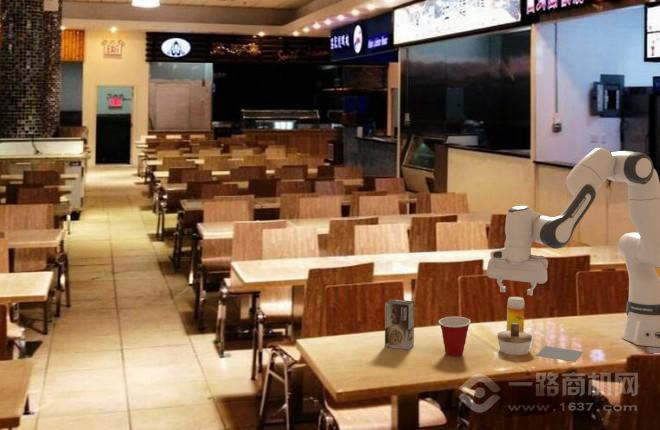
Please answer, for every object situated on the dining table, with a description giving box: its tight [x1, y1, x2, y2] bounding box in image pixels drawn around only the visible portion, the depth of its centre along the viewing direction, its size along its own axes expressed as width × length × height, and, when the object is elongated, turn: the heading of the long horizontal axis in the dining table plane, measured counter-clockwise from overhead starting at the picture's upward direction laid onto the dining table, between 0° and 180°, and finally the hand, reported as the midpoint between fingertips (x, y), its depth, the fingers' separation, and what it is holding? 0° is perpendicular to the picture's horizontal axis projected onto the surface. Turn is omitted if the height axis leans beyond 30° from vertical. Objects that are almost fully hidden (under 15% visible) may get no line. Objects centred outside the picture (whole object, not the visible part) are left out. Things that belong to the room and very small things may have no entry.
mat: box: [535, 345, 584, 363], centre depth 262 cm, size 13×13×1 cm
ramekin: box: [497, 337, 532, 356], centre depth 265 cm, size 11×11×5 cm
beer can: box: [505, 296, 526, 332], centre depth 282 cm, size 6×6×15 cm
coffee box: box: [384, 298, 415, 350], centre depth 270 cm, size 9×6×16 cm
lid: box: [497, 323, 533, 343], centre depth 264 cm, size 12×12×5 cm
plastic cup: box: [438, 316, 471, 357], centre depth 262 cm, size 11×11×12 cm
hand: (516, 293), depth 263 cm, fingers open, 8 cm apart
